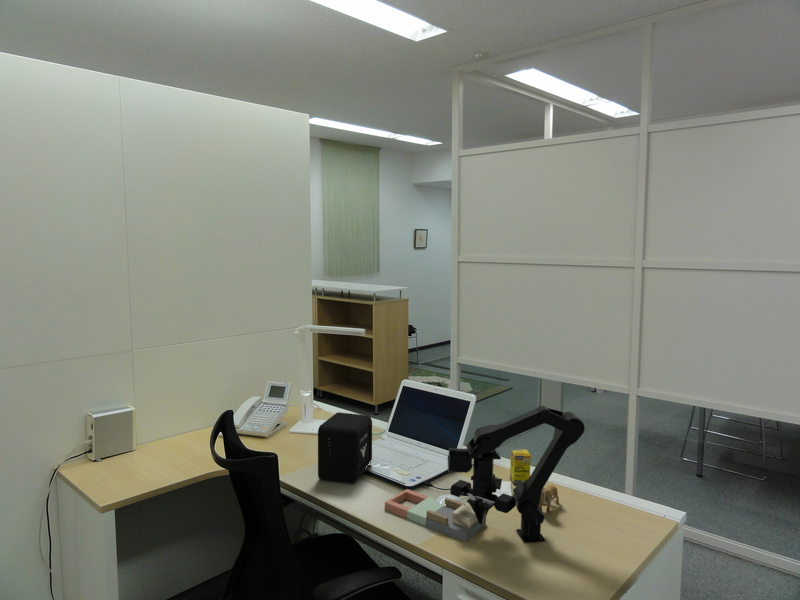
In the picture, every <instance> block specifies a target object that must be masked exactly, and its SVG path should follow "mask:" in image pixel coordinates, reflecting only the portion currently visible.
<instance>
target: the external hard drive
mask: <svg viewBox="0 0 800 600" xmlns="http://www.w3.org/2000/svg"><path fill="white" fill-rule="evenodd" d="M512 492H513V489H512V481H507V480H502V483H501V488H500V490H499V489H496V492H495V493H492V494H495V495H497V496H498V497H499V496H500V495H501V494H507V495H510V496H513V493H512Z"/></svg>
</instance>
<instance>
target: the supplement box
mask: <svg viewBox="0 0 800 600" xmlns="http://www.w3.org/2000/svg"><path fill="white" fill-rule="evenodd" d="M531 457H532V456H531V454H530V452H529V450H527V449H510V463H509V464H510V467H509V468H510V469H509V479H510V480H511V483H512V484H513V485H517V484H518V481H519V480H521V481H523V482H524V481H526V480H527V479H529V477H530V476H531Z"/></svg>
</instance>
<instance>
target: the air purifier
mask: <svg viewBox="0 0 800 600" xmlns="http://www.w3.org/2000/svg"><path fill="white" fill-rule="evenodd" d="M371 460H372V461H373V420H372V417H371V416H370V415H367V414H360V413H359V414H357V413H348V412H346V413H345V412H339V411H337V412H336V413H334V414H333V415H332V416H331V417H329V418H328V419H326V421H323V423H322V424H320V425H319V426H318V430H317V477H318V479H320V480H325V481H330V482H331V481H333V482H337V483H338V482H340V483H348V484H354V483H356V482H357V481H358V480H359V478H361V476H363V474H364V473H365V472H366V470H365V468H366V466H367V465H368V464H369V462H370V461H371Z"/></svg>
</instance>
